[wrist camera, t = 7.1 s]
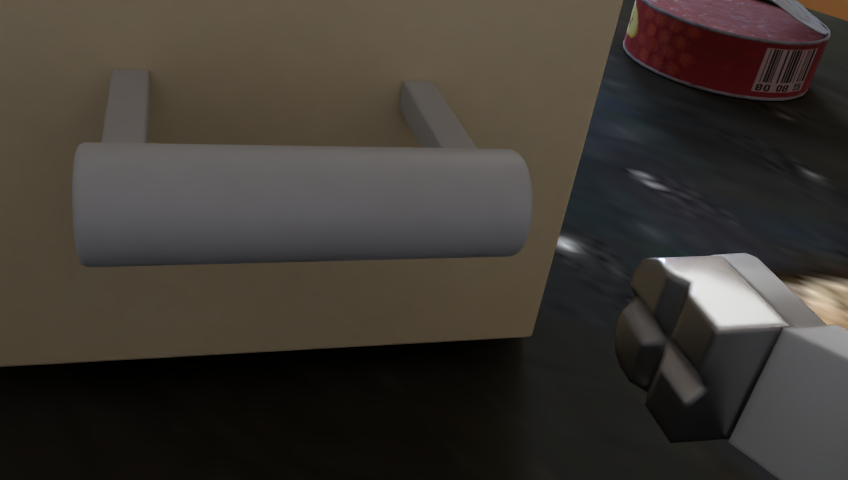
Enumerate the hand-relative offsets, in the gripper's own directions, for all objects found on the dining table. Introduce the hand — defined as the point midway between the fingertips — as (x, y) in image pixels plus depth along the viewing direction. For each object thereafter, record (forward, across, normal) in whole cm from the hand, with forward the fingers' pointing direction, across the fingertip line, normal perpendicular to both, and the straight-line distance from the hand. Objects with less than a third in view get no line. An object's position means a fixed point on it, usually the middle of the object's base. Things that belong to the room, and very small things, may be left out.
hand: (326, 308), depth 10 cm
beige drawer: (+11, 0, +6) cm, 12 cm away
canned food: (+29, -26, +7) cm, 39 cm away
